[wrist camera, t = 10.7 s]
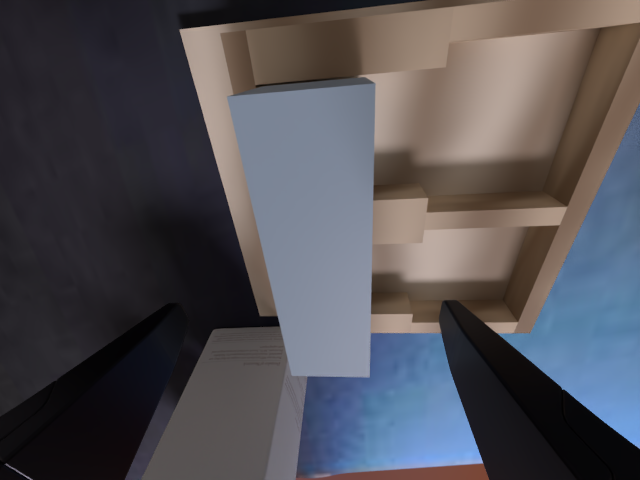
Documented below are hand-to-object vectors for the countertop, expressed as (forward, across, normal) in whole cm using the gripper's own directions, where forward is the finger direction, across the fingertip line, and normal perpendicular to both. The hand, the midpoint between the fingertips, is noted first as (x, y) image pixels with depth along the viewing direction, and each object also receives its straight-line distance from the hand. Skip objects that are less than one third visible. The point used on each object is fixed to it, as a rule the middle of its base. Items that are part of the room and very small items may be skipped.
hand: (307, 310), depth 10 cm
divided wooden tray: (+9, -4, 0) cm, 10 cm away
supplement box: (+9, +7, +15) cm, 18 cm away
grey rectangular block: (+8, 0, 0) cm, 8 cm away
